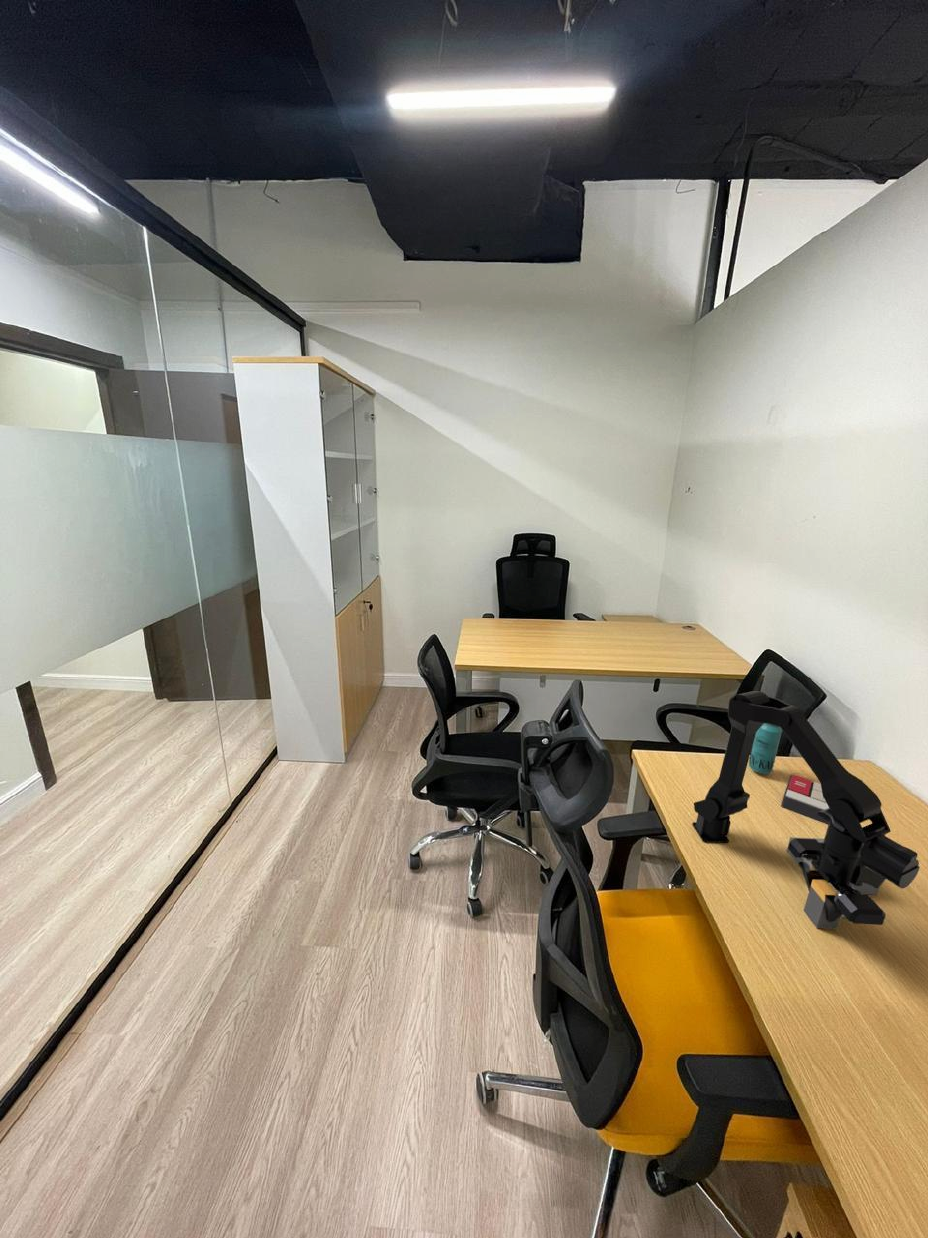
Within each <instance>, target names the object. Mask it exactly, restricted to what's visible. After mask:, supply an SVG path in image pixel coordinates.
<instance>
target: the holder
mask: <svg viewBox="0 0 928 1238" xmlns="http://www.w3.org/2000/svg"><path fill="white" fill-rule="evenodd" d="M795 838H796V837H793V836H792V837H791V836H790V837H789V841H788V845H787V849H786V853H788V855H789V856H790V857H791V859H793V861H794V862H795V863H796V864H797V866H798V867H799V868H800V869H801V867H800V866H799V862H803V859H804V858H803V855H807V854H802V858H795V856H794V855H793V854H792V853H791V852H790V851H789V849H788V847H789V843H790V841H791V840H793V839H795ZM798 838H799V839H816V840H817V841H818V842H819V843H823V842H824V838H820V837H819V838H818V837H817V838H814V837H798ZM850 886H851V887H853V888H855V889H856V890H858V891H859V892H860V893H861V894H863V895H878V893H879V890H880V887H879V888H878V889H877V888H874V887H873V886H871V885H868V884H866V883H862V886H855V885H854V884H851V885H850Z"/></svg>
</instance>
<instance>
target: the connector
mask: <svg viewBox="0 0 928 1238" xmlns="http://www.w3.org/2000/svg"><path fill="white" fill-rule="evenodd" d="M835 894H837V891H835V890H834V888H833V887H832V886H831V885H830V884H829V883H828V882H827V881H826V880H814V879H813V880H812V883H811V887H810V890H808V894H807V897H806V900H805V904H804V908H803V912H804V913H805V915H806V916H807V917H808V919H809V920H810V921H811V923H812V924H813V925H814V926H815V928H816V929H830V930H831V929H834V930H835V929H836V930H838V927H839V923H840V920H841V918H842V917H841V916H840V917H839V918H837V919H836V920H835V921H834V922H828V921H827V919H826V906H825V895H835Z"/></svg>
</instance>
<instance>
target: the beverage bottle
mask: <svg viewBox="0 0 928 1238" xmlns="http://www.w3.org/2000/svg"><path fill="white" fill-rule="evenodd" d="M782 733H783V730H782V729H781V727H779V726H776V725H773V724H767V723H764V724H763V725H762V726H761V727H760V728H759V729H758V731H757V732H756V735H755V738H754V742H753V746H752V749H751V753H750V757H749V760H748V766H749V768H750V769H751V770H753V771H755V772H757V773H759V774H766V775H767V774H771V773H772V772H773V770H774V767H775V764H776V758H777V755H778V754H777V753H778V750H779V745H780V740H781V737H782Z"/></svg>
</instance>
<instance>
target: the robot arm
mask: <svg viewBox="0 0 928 1238" xmlns="http://www.w3.org/2000/svg"><path fill="white" fill-rule="evenodd" d="M727 717H728V720H729V723H730V725H731V729H730V734H729V736H728V737H729V738H728V741H727V744H726V749H725V753H724V757H723V759H722V760H723V761H722V764H721V767H720V768H721V769H720V772H719V777H718V779H717V780H716V781H714V783H713V785H711V786H710V787H709V789H708V792H707V793H706V796H705V798H704V799H702V800H698V801H695V802H693V808H694V812H695V813H697V816H696V821H694V822H692V825H691V826H692V827H693V828H694V830H695V831H696V833H697V835H698V837H699V838H700V840H701V841H702V842H703V843H721V844H728V843H730V839H729V838H728V836H729V831H730V828H731V827H730V826H731V823H732V822H731V815H735V814H737V813H741V812H743V811H744V810H745V809H748V801H749V799H750V797H751V794H750V793H748V792H746V791H745V789H744V787H743V782H744V778H745V776H746V771H747V767H748V765H749V760H750V759H749V758H750V754H751V749H752V748H753V743H754V739H755V736H756V732H757V731H758V729H759V728H760V727H761V726H762V725H763V724H764V723H767V724H773V725H776V726H779V727H781V729H782V732H784V734H785V735H786V737H787V738H788V740H789V741H790V742H791V743H792V745H793V746H794V748H795V749H796V750H797V752H798V753H799V755H800V756H801V757H802V759H803V760H804V761H805V763H806V764H807V766H808V767H809V769H810V770H811V771H812V772H813V773H814V775H815V776H816V778H817V780H818V781H819V782H818V783H819V784H821V789H822V794H823V797H824V799H825V801H826V803H827V804H828V806H829V808H827V809H825V810H822V811H820V812H818V815H819V816H820V817H822V818H824V819H825V820H827V821H829V824H828V825H827V828H826V832H825V835H824V838H823V839H824V842H823V843H819V842H818V841H817V840H816V839H799V838H800V837H795V839H793V840H791V841H790V843H789V842H788V844H789V847H788V846H787V848H788V849H789V851H790V852H791V853H792V854H793V855H794V856H795V858H802V854H807V855H803V858H804V859H803V862H799V865H798V867H799V866H800V867H801V868H800V867H799V868H800V870H801V872H802V875H803V878H804V881H805V884H806V886H807V889H808V891H809V890H810V887H811V883H812V880H813V879H814V880H826V881H827V882H828V883H829V884H830V885H831V886H832V887H833V888H834V890H835V891H837V894H835V895H825V906H826V919H827V921H828V922H834V921H835V920H836V919H837V918H839V917H840V916H841V915H842V914H843V915H844V916H845V917H846V918H847V921H848V922H850V923H852V924H855V925H873V926H874V925H876V926H877V925H878V926H883V924H884V922H885V919H886V916H887V914H886V912H884V910H883V909H882V908H881V906H879V905H878V904H877V903H876V902H875V900H873V899H872V897H870V895H869V894H861V893H860V892H859V891H858V890H855V889H853V888H852V887H851V886H850V885H851V884H854V885H855V886H862V883H866V884H868V885H871V886H873V887H874V888H877V889H878V888H879V889H880V887H881V886H882V885H883V883H884V882H886V880H887V881H889V882H890V883H892V884H893V885H894V886H896V887H898V888H900V889H906V888H907V887H908V886H910V884H912V882H913V881H914V880H915V878H916V877H917V876H918V873H919V872H920V864H919V863H920V861H919V860H918V853H917V852H916V851H914V850H912V849H910V848H908V847H906V846H903V845H902V844H901V843H898V842H896V841H894V840H893V839H891V838H890V837H887V836H886V835H887V834H890V833H891V828H890V827H889V824H888V822H887V819H886V817H885V814H884V813H883V811H882V801H881V799H880V798H879V796H878V795H877V794H876V793H875V792H874V791H873V790H872V789H871V788H870V787H869V786H868V785H867V784H866V783H865V782H864V781H863V780H862V779H860V777H859V778H858V777H857V776H856V775H854V774H852V773H851V772H849V771H848V770H847V769H846V768H845V767H844V766H843V764H841V762H840V761H839V760H838V758H837V757H836V756H835V754H834V753H833V752H832V750H831V749H830V748H829V746H828V745H827V744H826V743H825V741H824V739H822V738H821V736H820V735H819V733H818V732H817V731H816V730H815V728H814V727H813V725H811V723H810V721H808V719H807V717H806V716H805V713H804V710H803V709H801V707H798V706H795V705H791V704H788V703H786V702H785V701H783V700H781V699H779V698H775V697H772V696H768V695H767V694H766V693H765V692H763V691H760V690H752V691H749V692H742V693H739V694H738V693H737V694H735V695H733V696H731V697H730V699H729V701H728V708H727ZM868 820H869V821H870V822H871V823H870V824H868V825H865V826H862V823H864V822H867V821H868Z"/></svg>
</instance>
